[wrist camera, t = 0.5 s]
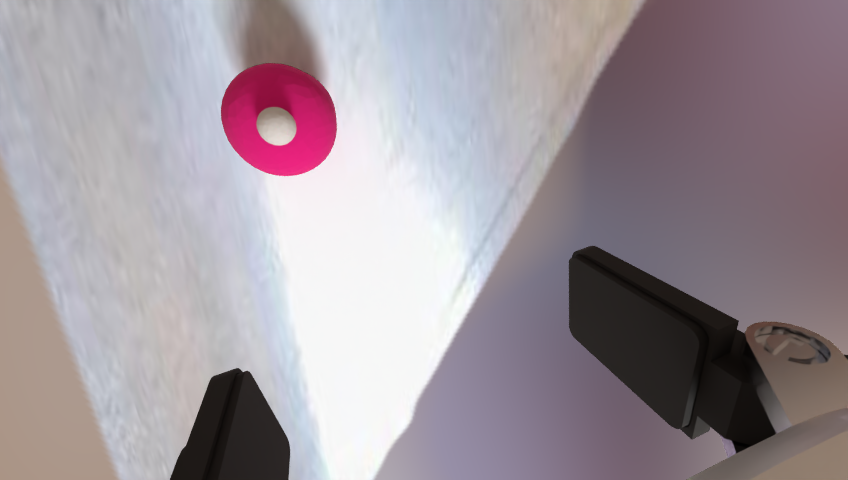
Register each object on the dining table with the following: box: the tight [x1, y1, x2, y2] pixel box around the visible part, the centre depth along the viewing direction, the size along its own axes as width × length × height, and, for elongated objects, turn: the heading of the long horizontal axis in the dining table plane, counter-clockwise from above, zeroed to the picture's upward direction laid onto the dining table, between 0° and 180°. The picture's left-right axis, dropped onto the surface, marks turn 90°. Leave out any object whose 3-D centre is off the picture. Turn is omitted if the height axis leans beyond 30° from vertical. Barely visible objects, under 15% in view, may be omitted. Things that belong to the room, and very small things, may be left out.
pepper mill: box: [221, 63, 337, 176], centre depth 24 cm, size 7×7×20 cm
